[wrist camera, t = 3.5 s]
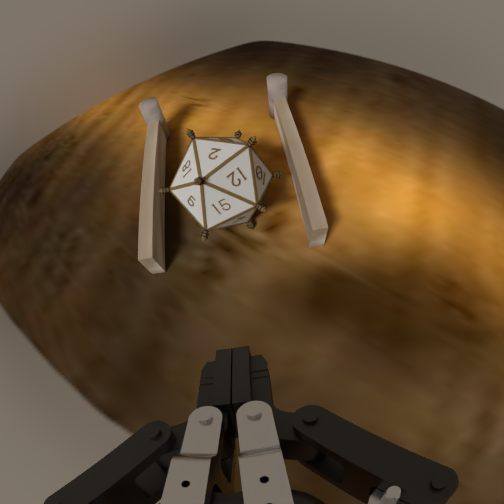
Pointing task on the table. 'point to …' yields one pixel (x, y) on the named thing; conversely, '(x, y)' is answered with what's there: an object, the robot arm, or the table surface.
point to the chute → (155, 164)
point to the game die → (221, 181)
